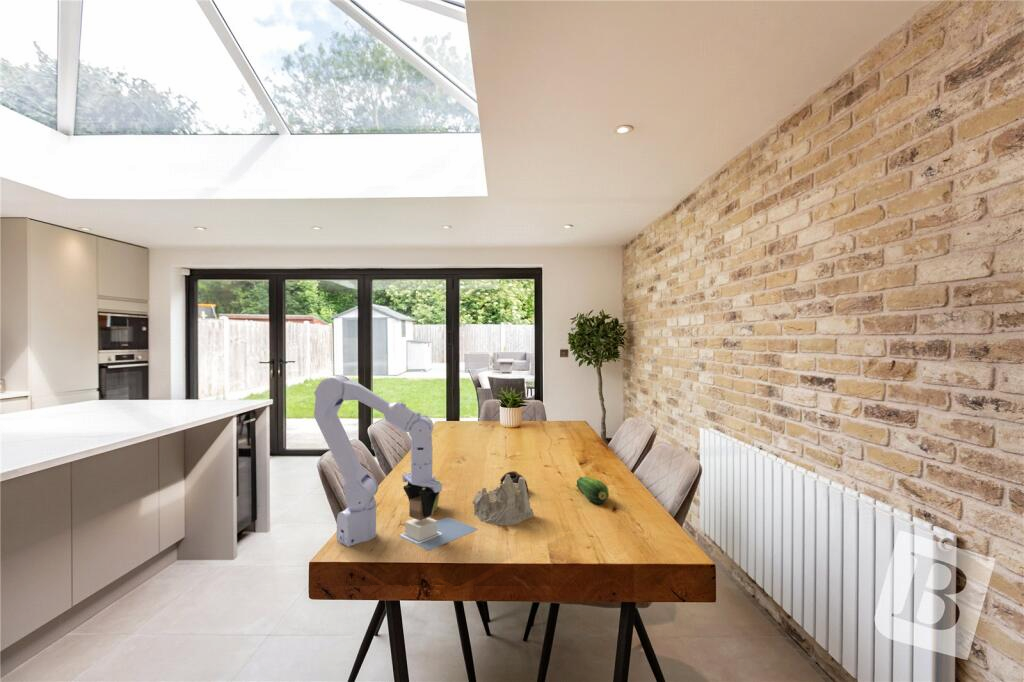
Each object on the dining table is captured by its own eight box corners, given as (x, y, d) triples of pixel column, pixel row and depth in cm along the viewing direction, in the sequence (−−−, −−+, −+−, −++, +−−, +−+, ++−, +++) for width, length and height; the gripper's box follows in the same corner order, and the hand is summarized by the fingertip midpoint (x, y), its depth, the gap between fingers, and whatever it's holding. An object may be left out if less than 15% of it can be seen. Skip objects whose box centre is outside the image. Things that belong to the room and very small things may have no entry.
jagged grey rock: (542, 517, 131) (538, 467, 131) (500, 535, 120) (496, 480, 120) (507, 507, 142) (504, 460, 143) (466, 522, 131) (463, 472, 132)
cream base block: (419, 541, 113) (419, 527, 113) (405, 534, 116) (405, 521, 117) (437, 533, 117) (437, 520, 117) (423, 527, 121) (423, 515, 121)
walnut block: (419, 520, 114) (419, 503, 114) (409, 516, 117) (409, 499, 117) (433, 515, 117) (433, 498, 117) (423, 511, 120) (423, 495, 120)
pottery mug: (532, 497, 151) (522, 478, 149) (508, 509, 151) (497, 490, 149) (527, 478, 163) (517, 460, 160) (504, 489, 163) (494, 472, 160)
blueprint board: (429, 554, 107) (429, 549, 107) (398, 539, 116) (398, 535, 116) (478, 532, 120) (478, 528, 120) (447, 520, 129) (447, 516, 129)
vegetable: (596, 480, 140) (576, 465, 160) (586, 501, 140) (567, 483, 159) (615, 490, 141) (593, 473, 161) (606, 510, 141) (585, 491, 160)
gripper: (450, 464, 115) (450, 515, 115) (417, 455, 125) (417, 503, 125) (429, 469, 110) (429, 523, 110) (396, 460, 120) (395, 510, 119)
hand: (421, 513), depth 117 cm, fingers closed on walnut block, 4 cm apart
